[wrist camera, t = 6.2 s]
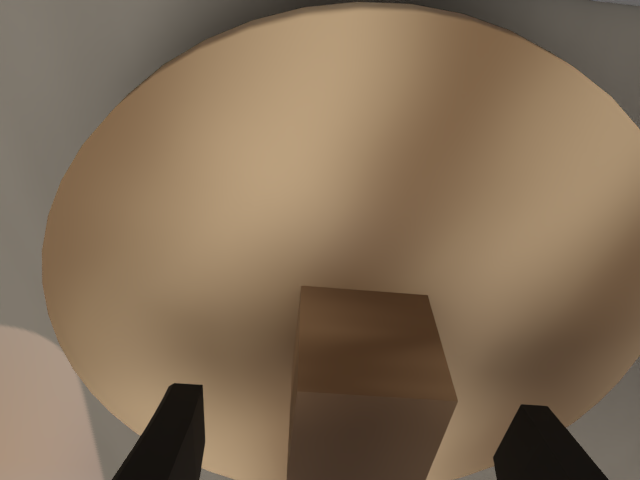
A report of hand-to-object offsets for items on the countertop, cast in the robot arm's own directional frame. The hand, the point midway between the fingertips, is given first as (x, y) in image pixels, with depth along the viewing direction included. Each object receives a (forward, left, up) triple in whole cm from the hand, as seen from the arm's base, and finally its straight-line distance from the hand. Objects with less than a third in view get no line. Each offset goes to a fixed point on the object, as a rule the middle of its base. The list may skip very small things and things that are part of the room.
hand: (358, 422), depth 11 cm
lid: (0, -1, -3) cm, 3 cm away
